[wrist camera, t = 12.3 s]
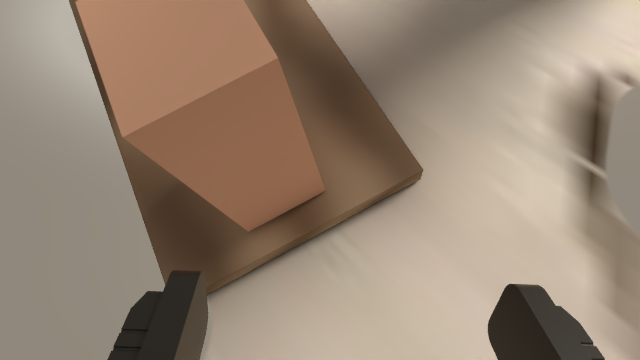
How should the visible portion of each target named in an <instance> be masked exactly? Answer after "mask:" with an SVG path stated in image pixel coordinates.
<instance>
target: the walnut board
mask: <svg viewBox="0 0 640 360" xmlns="http://www.w3.org/2000/svg"><path fill="white" fill-rule="evenodd" d="M76 1H78V0H69V2H70V5H71V8H72V11H73V14H74V17H75V20H76V23H77V26H78V29H79V31H80V35H81V38H82V40H83V43H84V46H85V49H86V52H87V55H88V58H89V61H90V64H91V67H92V70H93V73H94V76H95V79H96V81H97V85H98V88H99V91H100V93H101V96H102V99H103V102H104V105H105V108H106V111H107V114H108V117H109V120H110V123H111V126H112V129H113V132H114V135H115V138H116V140H117V143H118V146H119V149H120V152H121V155H122V158H123V161H124V164H125V167H126V170H127V173H128V176H129V179H130V182H131V185H132V188H133V191H134V194H135V197H136V200H137V202H138V205H139V208H140V211H141V214H142V217H143V220H144V223H145V226H146V229H147V232H148V235H149V238H150V241H151V244H152V246H153V250H154V253H155V255H156V258H157V261H158V264H159V267H160V270H161V273H162V276H163V279H164V282H165V285H166V283H167V280H168V278H169V275H170V273H171V272H172V271H173V270H184V271H203V272H204V275H205V285H206V295H207V294H209V293H211V292H213V291H215V290H216V289H218V288H220V287H222V286H224V285H226V284H228V283H229V282H231V281H233V280H235V279H237V278H239V277H240V276H242V275H244V274H246V273H248V272H250V271H251V270H253V269H255V268H257V267H259V266H261V265H263V264H264V263H266V262H268V261H270V260H272V259H274V258H275V257H277V256H279V255H281V254H283V253H285V252H287V251H288V250H290V249H292V248H294V247H296V246H298V245H299V244H301V243H303V242H305V241H307V240H309V239H311V238H312V237H314V236H316V235H318V234H320V233H322V232H323V231H325V230H327V229H329V228H331V227H333V226H335V225H336V224H338V223H340V222H342V221H344V220H346V219H347V218H349V217H351V216H353V215H355V214H357V213H359V212H360V211H362V210H364V209H366V208H368V207H370V206H371V205H373V204H375V203H377V202H379V201H381V200H383V199H384V198H386V197H388V196H390V195H392V194H394V193H395V192H397V191H399V190H401V189H403V188H405V187H407V186H408V185H410V184H412V183H414V182H416V181H418V180H419V179H421V175H422V172H423V169H422V167H421V166H420V164H419V163H418V162H417V160H416V159H415V157H414V156H413V154H412V153H411V151H410V150H409V149H408V147H407V146H406V144H405V143H404V141H403V140H402V138H401V137H400V135H399V134H398V133H397V131H396V130H395V128H394V127H393V125H392V124H391V122H390V121H389V120H388V118H387V117H386V115H385V114H384V112H383V111H382V109H381V108H380V106H379V105H378V104H377V102H376V101H375V99H374V98H373V96H372V95H371V93H370V92H369V91H368V89H367V88H366V86H365V85H364V83H363V82H362V80H361V79H360V77H359V76H358V75H357V73H356V72H355V70H354V69H353V67H352V66H351V64H350V63H349V62H348V60H347V59H346V57H345V56H344V54H343V53H342V51H341V50H340V48H339V47H338V46H337V44H336V43H335V41H334V40H333V38H332V37H331V35H330V34H329V33H328V31H327V30H326V28H325V27H324V25H323V24H322V22H321V21H320V19H319V18H318V17H317V15H316V14H315V12H314V11H313V9H312V8H311V6H310V5H309V4H308V2H307V1H306V0H244V1H245V3H246V5H247V7H248V8H249V10H250V12H251V13H252V15H253V17H254V18H255V20H256V22H257V23H258V25H259V27H260V28H261V30H262V32H263V33H264V35H265V37H266V38H267V40H268V42H269V43H270V45H271V47H272V48H273V50H274V52H275V53H276V55H277V57H278V59H279V62H280V64H281V67H282V70H283V73H284V76H285V78H286V81H287V84H288V87H289V90H290V92H291V95H292V98H293V101H294V104H295V106H296V109H297V112H298V115H299V118H300V120H301V123H302V126H303V129H304V132H305V134H306V137H307V140H308V143H309V145H310V148H311V151H312V154H313V157H314V159H315V162H316V165H317V168H318V171H319V173H320V176H321V179H322V182H323V185H324V187H325V190H326V191H324V192H322V193H320V194H319V195H317V196H315V197H313V198H311V199H309V200H307V201H305V202H304V203H302V204H300V205H298V206H296V207H294V208H292V209H291V210H289V211H287V212H285V213H283V214H281V215H279V216H277V217H276V218H274V219H272V220H270V221H268V222H266V223H264V224H263V225H261V226H259V227H257V228H255V229H253V230H251V231H249V232H248V231H247V230H245V229H244V228H243V227H241V226H240V225H239V224H237V223H236V222H235V221H233V220H232V219H231V218H229V217H228V216H227V215H225V214H224V213H223V212H221V211H220V210H219V209H217V208H216V207H215V206H213V205H212V204H211V203H209V202H208V201H207V200H205V199H204V198H203V197H201V196H200V195H199V194H197V193H196V192H195V191H193V190H192V189H191V188H189V187H188V186H187V185H185V184H184V183H183V182H181V181H180V180H179V179H177V178H176V177H175V176H173V175H172V174H171V173H169V172H168V171H167V170H165V169H164V168H163V167H161V166H160V165H159V164H157V163H156V162H155V161H153V160H152V159H151V158H149V157H148V156H147V155H145V154H144V153H143V152H141V151H140V150H139V149H137V148H136V147H135V146H133V145H132V144H131V143H129V142H128V141H127V140H125V139H124V138H123V137H122V135H121V132H120V129H119V126H118V124H117V121H116V118H115V115H114V112H113V109H112V106H111V103H110V101H109V98H108V95H107V92H106V89H105V86H104V83H103V80H102V78H101V75H100V72H99V69H98V66H97V63H96V60H95V57H94V55H93V52H92V49H91V46H90V43H89V40H88V37H87V34H86V32H85V29H84V26H83V23H82V20H81V17H80V14H79V11H78V9H77V6H76V3H75V2H76Z"/></svg>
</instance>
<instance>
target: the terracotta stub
mask: <svg viewBox="0 0 640 360" xmlns="http://www.w3.org/2000/svg"><path fill="white" fill-rule="evenodd" d="M75 3H76V6H77V9H78V11H79V14H80V17H81V20H82V23H83V26H84V29H85V32H86V34H87V37H88V40H89V43H90V46H91V49H92V52H93V55H94V57H95V60H96V63H97V66H98V69H99V72H100V75H101V78H102V80H103V83H104V86H105V89H106V92H107V95H108V98H109V101H110V103H111V106H112V109H113V112H114V115H115V118H116V121H117V124H118V126H119V129H120V132H121V135H122V137H123V138H124V139H125V140H127V141H128V142H129V143H131V144H132V145H133V146H135V147H136V148H137V149H139V150H140V151H141V152H143V153H144V154H145V155H147V156H148V157H149V158H151V159H152V160H153V161H155V162H156V163H157V164H159V165H160V166H161V167H163V168H164V169H165V170H167V171H168V172H169V173H171V174H172V175H173V176H175V177H176V178H177V179H179V180H180V181H181V182H183V183H184V184H185V185H187V186H188V187H189V188H191V189H192V190H193V191H195V192H196V193H197V194H199V195H200V196H201V197H203V198H204V199H205V200H207V201H208V202H209V203H211V204H212V205H213V206H215V207H216V208H217V209H219V210H220V211H221V212H223V213H224V214H225V215H227V216H228V217H229V218H231V219H232V220H233V221H235V222H236V223H237V224H239V225H240V226H241V227H243V228H244V229H245V230H247V231H248V232H249V231H251V230H253V229H255V228H257V227H259V226H261V225H263V224H264V223H266V222H268V221H270V220H272V219H274V218H276V217H277V216H279V215H281V214H283V213H285V212H287V211H289V210H291V209H292V208H294V207H296V206H298V205H300V204H302V203H304V202H305V201H307V200H309V199H311V198H313V197H315V196H317V195H319V194H320V193H322V192H324V191H326V190H325V187H324V185H323V182H322V179H321V176H320V173H319V171H318V168H317V165H316V162H315V159H314V157H313V154H312V151H311V148H310V145H309V143H308V140H307V137H306V134H305V132H304V129H303V126H302V123H301V120H300V118H299V115H298V112H297V109H296V106H295V104H294V101H293V98H292V95H291V92H290V90H289V87H288V84H287V81H286V78H285V76H284V73H283V70H282V67H281V64H280V62H279V59H278V57H277V55H276V53H275V52H274V50H273V48H272V47H271V45H270V43H269V42H268V40H267V38H266V37H265V35H264V33H263V32H262V30H261V28H260V27H259V25H258V23H257V22H256V20H255V18H254V17H253V15H252V13H251V12H250V10H249V8H248V7H247V5H246V3H245V1H244V0H78V1H76V2H75Z"/></svg>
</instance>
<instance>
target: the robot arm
mask: <svg viewBox="0 0 640 360" xmlns="http://www.w3.org/2000/svg"><path fill="white" fill-rule="evenodd" d="M207 322H208V306H207V295H206V285H205V275H204V272H203V271H184V270H173V271H172V272H171V273H170V275H169V278H168V280H167V283H166V286H165V288H164V291H163V292H156V291H154V292H153V291H148V292H146V293H145V295H144V296H143V297H142V298H141V299H140V300H139V301H138V302H137V303H136V304H135V305H134V306H133V307H132V308H131V309H130V312H129V314H128V316H127V318H126V320H125V323H124V325H123V327H122V331H121V333H120V334H119V336H118V338H117V340H116V342H115V344H114V349H113V351H111V353H110V355H109V358H108V360H200V355H201V351H202V347H203V343H204V339H205V335H206V329H207ZM488 335H489V340H490V343H491V345H492V347H493V350H494V352H495V354H496V356H497V359H498V360H605V358H604V357H603V356H602V354H601V353H600V351H599V350H598V348H597V347H596V346H594V345H593V341H592V340H591V338H590V337H589V336H588V334H587V333H586V331H585V330H584V329H583V327H582V326H581V324H580V323H579V322H578V321H577V320H576V319H574V318H573V317H572V316H571V315H570V314H569V313H568V312H567V311H565V310H564V309H563V308H562V307H561V306H555V304H554V303H553V301H552V300H551V298H550V297H549V295H548V294H547V292H546V291H545V289H544V288H542V287H541V286H539V285H524V284H509V285H507V286H506V288H505V289H504V291H503V293H502V295H501V297H500V299H499V301H498V303H497V305H496V307H495V309H494V311H493V313H492V315H491V317H490V319H489V323H488Z"/></svg>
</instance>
